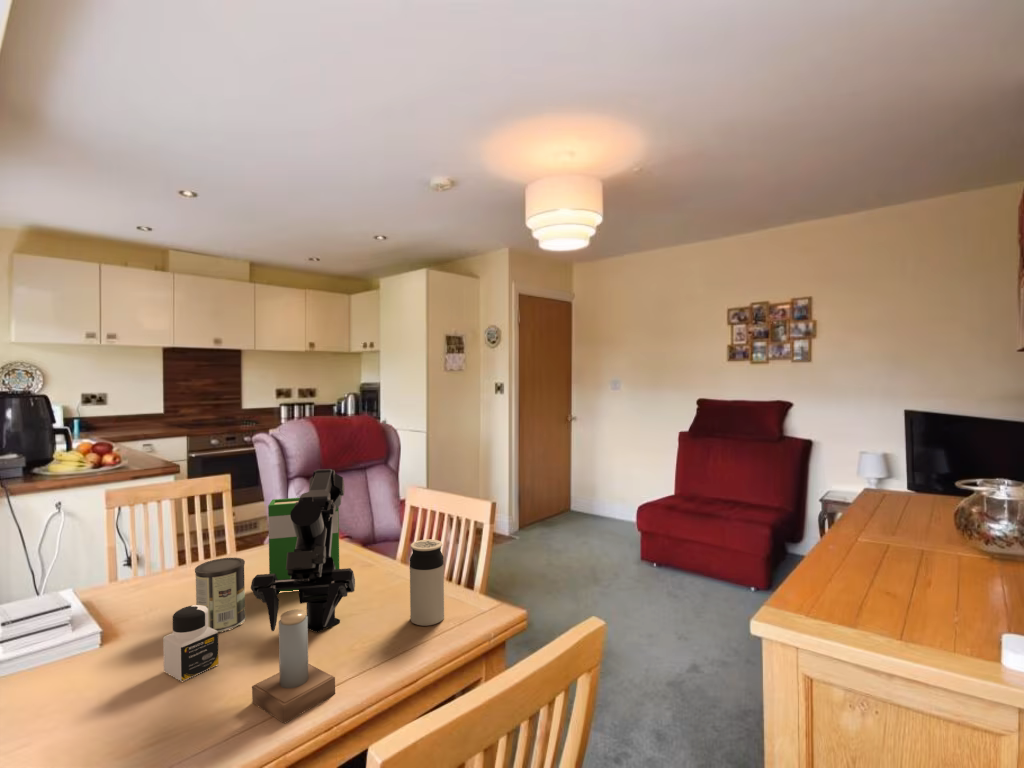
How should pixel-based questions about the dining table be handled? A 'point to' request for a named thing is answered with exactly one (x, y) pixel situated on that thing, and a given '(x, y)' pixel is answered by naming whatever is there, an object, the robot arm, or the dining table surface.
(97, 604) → the dining table surface
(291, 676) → the spice jar
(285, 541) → the hardback book
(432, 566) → the travel mug
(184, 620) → the medicine bottle
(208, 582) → the coffee can
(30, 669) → the dining table surface
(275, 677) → the walnut block
